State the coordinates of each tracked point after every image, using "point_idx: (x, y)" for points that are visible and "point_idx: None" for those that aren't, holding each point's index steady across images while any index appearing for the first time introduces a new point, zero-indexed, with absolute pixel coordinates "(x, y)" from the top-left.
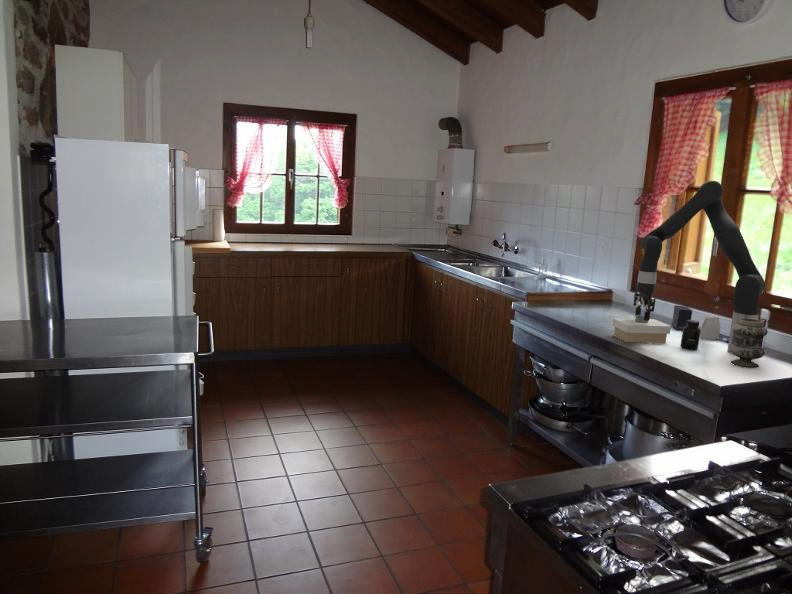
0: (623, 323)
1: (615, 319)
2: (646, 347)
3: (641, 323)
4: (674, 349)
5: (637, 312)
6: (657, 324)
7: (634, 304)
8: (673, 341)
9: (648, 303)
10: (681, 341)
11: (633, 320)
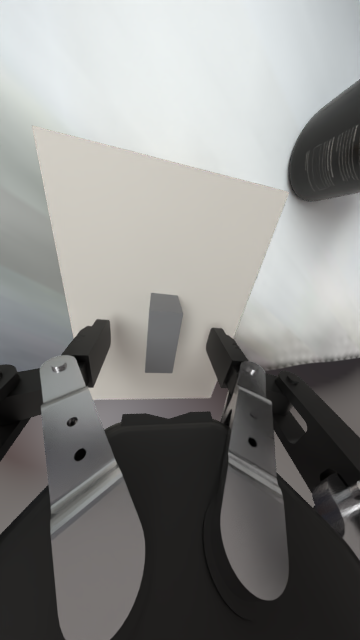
0: (177, 397)
1: (108, 398)
2: (247, 325)
3: (188, 338)
4: (297, 248)
5: (102, 356)
6: (222, 260)
7: (26, 419)
8: (203, 123)
9: (309, 479)
10: (319, 193)
11: (121, 341)
